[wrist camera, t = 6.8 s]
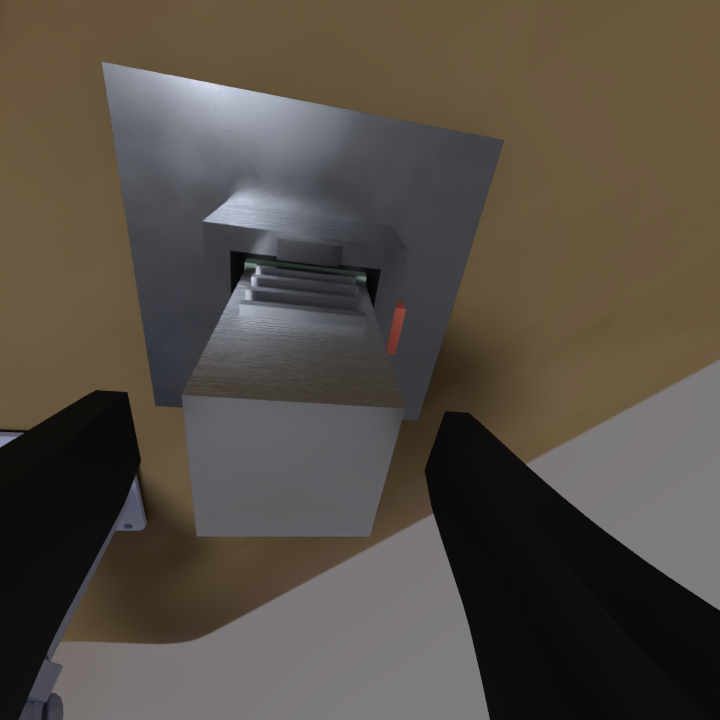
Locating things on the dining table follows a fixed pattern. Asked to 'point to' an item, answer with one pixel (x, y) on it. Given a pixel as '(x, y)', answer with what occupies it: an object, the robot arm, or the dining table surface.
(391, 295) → the stand base
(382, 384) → the stand column
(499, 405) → the dining table surface
